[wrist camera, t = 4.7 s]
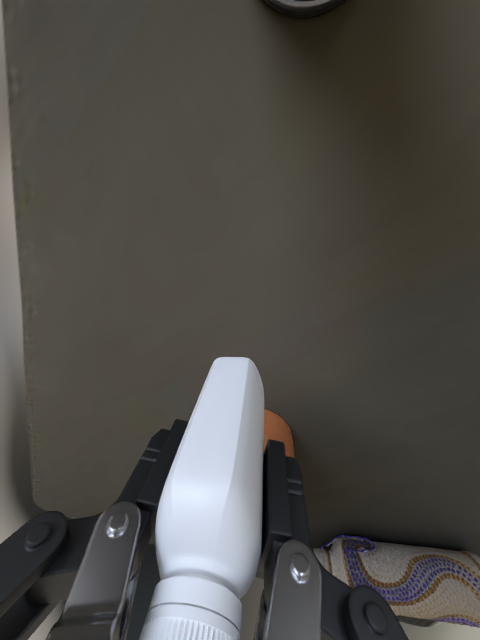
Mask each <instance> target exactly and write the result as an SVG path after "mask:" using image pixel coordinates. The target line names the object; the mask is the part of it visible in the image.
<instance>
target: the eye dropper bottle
mask: <svg viewBox="0 0 480 640" xmlns="http://www.w3.org/2000/svg"><path fill="white" fill-rule="evenodd" d="M263 452H264V390H263V384H262V380H261V377H260V374H259V372H258V370H257V368H256V366H255V364H254V363H253V361H252V360H250V359H249V358H245V357H220V358H217V359H216V360H215V361H214V362H213V364H212V366H211V369H210V371H209V373H208V376H207V378H206V381H205V383H204V386H203V388H202V391H201V393H200V396H199V398H198V401H197V403H196V405H195V408H194V410H193V413H192V415H191V418H190V420H189V423H188V425H187V428H186V430H185V433H184V435H183V438H182V440H181V443H180V445H179V448H178V451H177V453H176V456H175V458H174V461H173V464H172V466H171V469H170V472H169V474H168V477H167V479H166V482H165V485H164V488H163V491H162V494H161V498H160V502H159V506H158V511H157V517H156V526H155V548H156V558H157V563H158V568H159V573H160V578H161V581H160V582H159V583H158V584H157V585H156V587H155V590H154V593H153V597H152V600H151V603H150V606H149V609H148V613H147V616H146V619H145V623H144V626H143V629H142V632H141V636H140V639H139V640H240V631H241V616H242V605H241V602H240V600H239V599H240V598H241V597H242V596H244V595H245V594H246V593H247V591H248V590H249V588H250V587H251V585H252V583H253V581H254V579H255V576H256V573H257V570H258V567H259V563H260V557H261V548H262V514H263Z"/></svg>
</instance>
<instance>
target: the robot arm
mask: <svg viewBox="0 0 480 640" xmlns="http://www.w3.org/2000/svg"><path fill="white" fill-rule="evenodd" d="M263 1H264V2H265V3H267V4H268V5H269V6H270V7H272V8H273V9H274V10H276V11H278V12H280V13H282V14H285V15H288V16H292V17H311V16H316V15H319V14H322V13H325V12H327V11H329V10H331V9H333V8H334V7H336V6H338V5H339V4H340V3H342V2H343V1H344V0H263ZM188 423H189V422H188V421H183V420H179V419H176V420H175V422H174V424H173V426H172V428H171V430H165V429H161V430H160V431H159V432H158V433H156V434H155V435H154V436H153V437H152V439H151V440H150V442H149V444H148V446H147V448H146V450H145V451H144V453H143V455H142V457H141V459H140V460H139V462H138V464H137V466H136V467H135V469H134V471H133V473H132V475H131V477H130V478H129V480H128V482H127V484H126V486H125V487H124V489H123V491H122V493H121V495H120V496H119V498H118V499H117V500H116V502H115V503H114V504H113V505H112V506H110V507H109V508H107V509H106V510H105V511H104V512H102V513H100V514H98V515H95V516H91V517H86V518H80V519H73V520H67V519H66V517H65V515H64V514H63V513H61V512H58V511H48V512H45V513H42V514H39V515H37V516H35V517H34V518H32V519H31V520H29V521H28V522H27V523H25V524H24V525H23V526H22V527H21V528H20V529H18V530H17V531H16V532H15V533H13V534H12V535H11V536H10V537H8V538H7V539H6V540H5V541H4V542H2V543H1V544H0V640H28V639H29V637H30V636H31V635H32V634H33V633H34V632H35V630H36V629H37V628H38V627H39V625H40V624H41V623H42V622H43V621H44V620H45V619H46V617H47V616H48V615H49V614H50V613H51V611H52V610H53V609H54V608H55V607H56V605H57V604H58V603H59V602H60V601H61V600H65V599H67V602H66V605H65V607H64V610H63V612H62V614H61V616H60V618H59V620H58V621H57V622H56V623H55V624H54V625H53V627H52V628H51V630H50V632H49V634H48V636H47V638H46V640H126V635H127V630H128V625H129V619H130V615H131V610H132V605H133V600H134V595H135V590H136V585H137V580H138V575H139V569H140V564H141V561H142V559H143V556H144V553H145V551H146V548H147V546H148V543H150V544H154V545H155V526H156V517H157V511H158V506H159V502H160V498H161V494H162V491H163V488H164V485H165V482H166V479H167V477H168V474H169V472H170V469H171V466H172V464H173V461H174V458H175V456H176V453H177V451H178V448H179V445H180V443H181V440H182V438H183V435H184V433H185V430H186V428H187V425H188ZM258 570H261V571H264V590H263V592H262V596H261V601H260V606H259V612H258V617H257V623H256V628H255V633H254V639H253V640H409V639H408V638H407V636H406V634H405V633H404V630H403V628H402V627H401V625H400V623H399V621H398V619H397V617H396V616H395V614H394V612H393V610H392V609H391V607H390V605H389V604H388V603H387V601H386V600H385V599H384V598H383V597H382V596H381V595H380V594H379V593H378V592H377V591H376V590H374V589H373V588H371V587H369V586H366V585H357V586H356V587H354V588H352V587H350V586H349V585H347V584H346V583H344V582H343V581H341V580H340V579H338V578H337V577H335V576H334V575H332V574H331V573H330V572H328V571H327V570H326V569H325V568H324V567H323V565H322V564H321V563H320V562H319V560H318V559H317V557H316V555H315V553H314V551H313V548H312V545H311V541H310V535H309V528H308V521H307V514H306V506H305V499H304V492H303V485H302V477H301V470H300V468H299V466H298V464H297V462H296V460H295V458H294V457H289V456H286V454H285V444H284V442H281V441H276V440H271V439H268V440H267V444H266V447H265V451H264V454H263V514H262V548H261V557H260V563H259V567H258Z"/></svg>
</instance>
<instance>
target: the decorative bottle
mask: <svg viewBox="0 0 480 640" xmlns="http://www.w3.org/2000/svg"><path fill="white" fill-rule="evenodd" d="M364 539H365V540H364ZM330 544H333V545H332V547H331V550H329V551H327V550H324V549H323V547H327V546H329V545H330ZM313 551H314V553H315V555H316V557H317V559H318V560H319V562H320V563H321V564H322V565H323V567H324V568H325V569H326V570H327V571H328V572H330V573H331V574H332V575H334V576H335V577H337V578H338V579H340V580H341V581H343V582H344V583H346V584H347V585H349V586H350V587H352V588H354V587H356V586H357V585H366V586H369V587H371V588H373V589H374V590H376V591H377V592H378V593H379V594H380V595H381V596H382V597H383V598H384V599H385V600H386V601H387V603H388V604H389V605H390V607H391V609H392V610H393V612H394V614H395V615H397V616H398V615H402V616H407V617H415V618H423V619H429V620H436V621H440V622H448V623H453V624H460V625H469V626H474V627H478V628H479V627H480V557H479V556H478V555H476V554H474V553H471V552H469V551H455V550H445V549H439V548H431V547H430V548H428V547H418V546H412V545H411V546H409V545H403V544H393V543H384V542H372V541H371V540H369V539H367V538H364V537H358V536H346V535H339V536H337V537H335V538H334V539H332V540H331V541H330V542H328V543H327V544H326V546H320V548H313Z"/></svg>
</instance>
